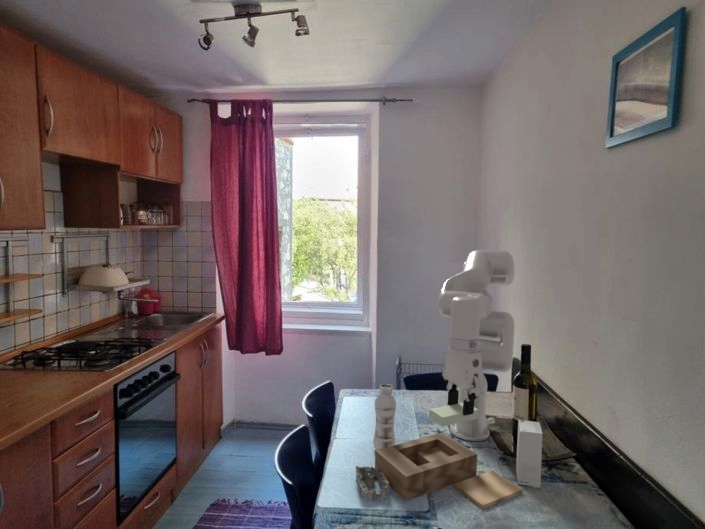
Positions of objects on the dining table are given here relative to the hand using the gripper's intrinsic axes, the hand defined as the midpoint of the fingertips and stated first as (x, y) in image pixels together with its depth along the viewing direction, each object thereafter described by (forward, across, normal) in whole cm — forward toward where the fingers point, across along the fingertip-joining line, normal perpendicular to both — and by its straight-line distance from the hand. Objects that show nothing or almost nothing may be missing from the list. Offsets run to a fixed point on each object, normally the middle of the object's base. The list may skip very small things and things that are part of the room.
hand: (460, 409), depth 117 cm
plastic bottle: (+20, +21, +10) cm, 30 cm away
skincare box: (+20, -8, -18) cm, 28 cm away
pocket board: (+19, +5, +7) cm, 21 cm away
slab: (+2, 0, +2) cm, 3 cm away
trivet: (+19, -8, -4) cm, 21 cm away
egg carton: (+20, +6, +23) cm, 31 cm away
